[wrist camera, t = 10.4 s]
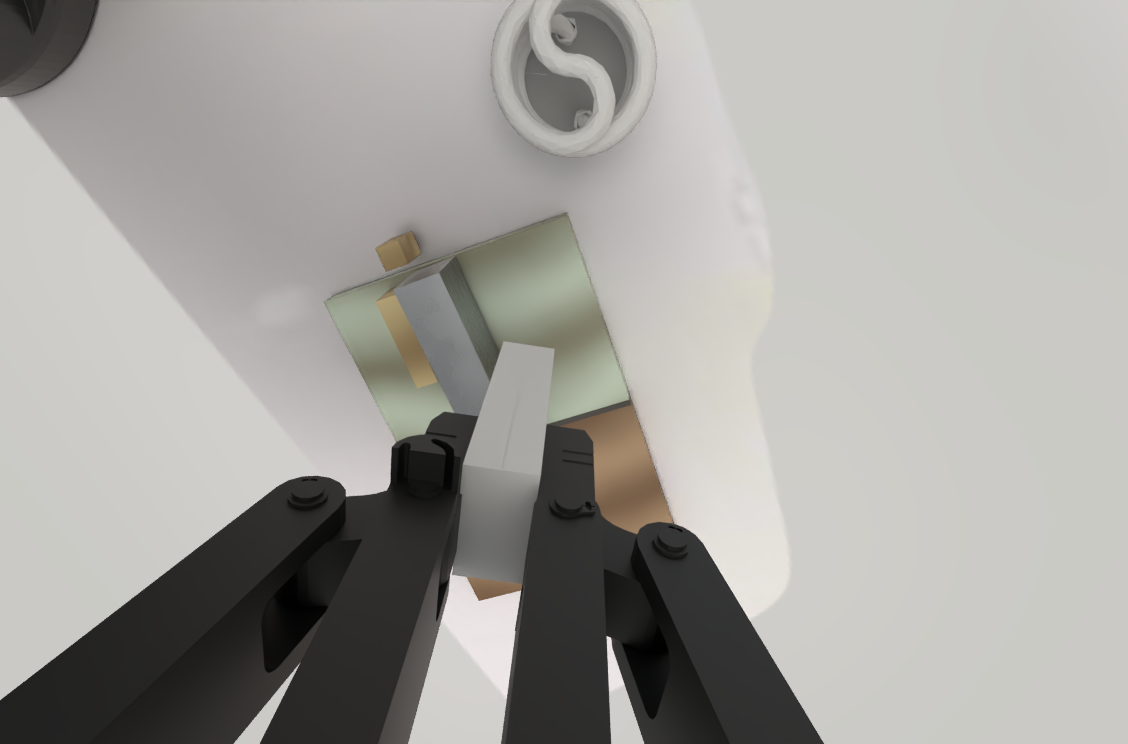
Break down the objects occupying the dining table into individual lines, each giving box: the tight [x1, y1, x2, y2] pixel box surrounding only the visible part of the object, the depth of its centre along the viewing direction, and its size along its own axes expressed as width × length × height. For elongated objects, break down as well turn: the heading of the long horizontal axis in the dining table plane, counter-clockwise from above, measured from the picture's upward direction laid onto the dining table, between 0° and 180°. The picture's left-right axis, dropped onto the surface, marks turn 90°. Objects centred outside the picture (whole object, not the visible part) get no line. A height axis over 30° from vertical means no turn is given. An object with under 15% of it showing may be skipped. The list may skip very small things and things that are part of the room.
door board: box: [324, 213, 674, 601], centre depth 35 cm, size 24×14×4 cm, turn 19°
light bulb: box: [491, 0, 657, 157], centre depth 24 cm, size 6×6×12 cm
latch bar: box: [393, 256, 499, 416], centre depth 32 cm, size 13×4×4 cm, turn 21°
